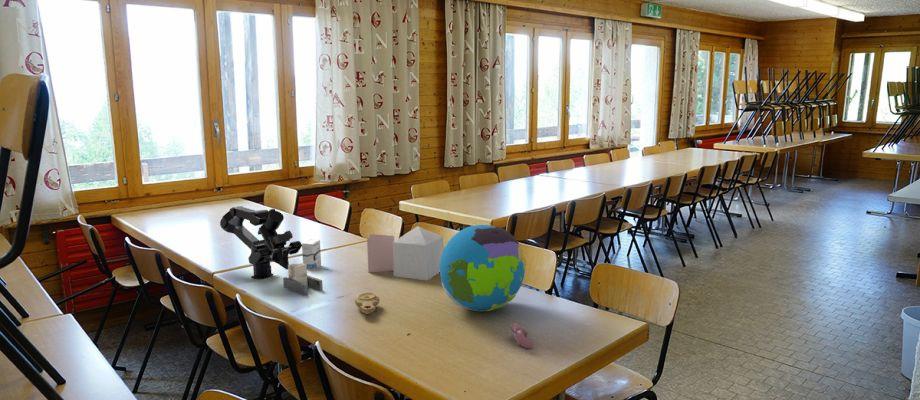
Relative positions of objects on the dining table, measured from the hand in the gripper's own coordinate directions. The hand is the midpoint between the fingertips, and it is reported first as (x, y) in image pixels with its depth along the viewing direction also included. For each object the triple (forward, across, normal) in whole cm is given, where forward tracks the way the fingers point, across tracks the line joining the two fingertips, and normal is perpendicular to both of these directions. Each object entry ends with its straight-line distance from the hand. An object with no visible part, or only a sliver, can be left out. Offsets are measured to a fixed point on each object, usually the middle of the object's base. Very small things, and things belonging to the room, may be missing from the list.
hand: (288, 268), depth 240 cm
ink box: (-5, +21, +15) cm, 26 cm away
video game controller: (+76, +16, -67) cm, 103 cm away
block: (+9, 0, 0) cm, 9 cm away
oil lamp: (+36, +3, -26) cm, 45 cm away
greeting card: (+14, +37, -3) cm, 40 cm away
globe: (+57, +30, -48) cm, 80 cm away
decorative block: (+24, +46, -14) cm, 53 cm away
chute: (+12, 0, -2) cm, 12 cm away
